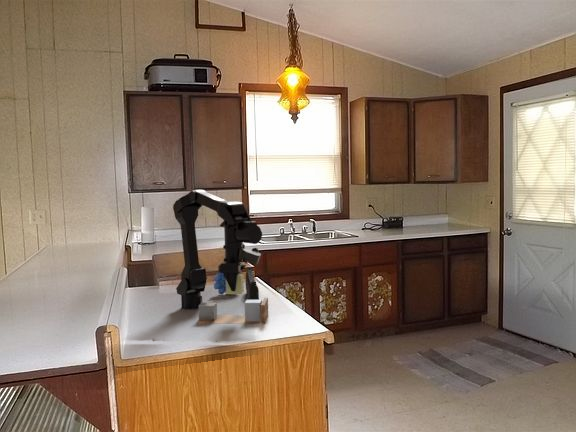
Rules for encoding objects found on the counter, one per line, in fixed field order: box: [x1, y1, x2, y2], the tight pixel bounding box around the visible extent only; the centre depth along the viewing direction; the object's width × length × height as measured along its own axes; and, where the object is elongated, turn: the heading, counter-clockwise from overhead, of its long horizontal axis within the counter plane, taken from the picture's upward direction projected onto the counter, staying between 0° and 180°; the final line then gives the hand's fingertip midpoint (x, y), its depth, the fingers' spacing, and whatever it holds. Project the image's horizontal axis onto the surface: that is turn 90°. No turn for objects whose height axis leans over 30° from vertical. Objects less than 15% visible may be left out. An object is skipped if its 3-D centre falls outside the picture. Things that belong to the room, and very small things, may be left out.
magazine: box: [245, 267, 260, 300], centre depth 177 cm, size 17×3×30 cm
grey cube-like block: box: [198, 302, 218, 321], centre depth 153 cm, size 5×4×5 cm
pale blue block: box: [244, 299, 263, 321], centre depth 151 cm, size 5×4×6 cm
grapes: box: [213, 273, 226, 295], centre depth 191 cm, size 12×7×12 cm, turn 114°
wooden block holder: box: [195, 297, 269, 325], centre depth 152 cm, size 22×9×7 cm, turn 85°
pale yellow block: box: [225, 272, 245, 295], centre depth 151 cm, size 5×4×6 cm
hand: (234, 289), depth 151 cm, fingers closed on pale yellow block, 4 cm apart
